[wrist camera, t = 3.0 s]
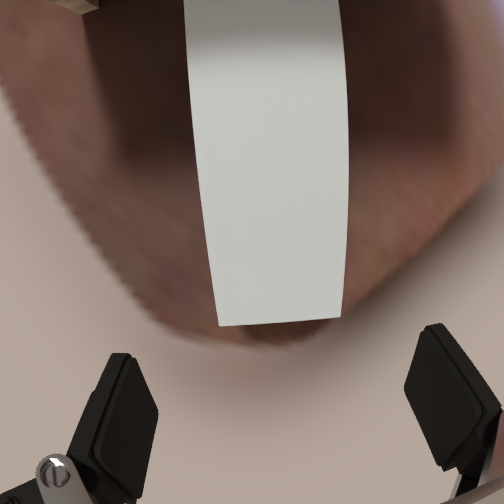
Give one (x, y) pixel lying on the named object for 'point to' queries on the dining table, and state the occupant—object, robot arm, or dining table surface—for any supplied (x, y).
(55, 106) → the dining table surface
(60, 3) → the beige wooden bench
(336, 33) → the white rectangular block
